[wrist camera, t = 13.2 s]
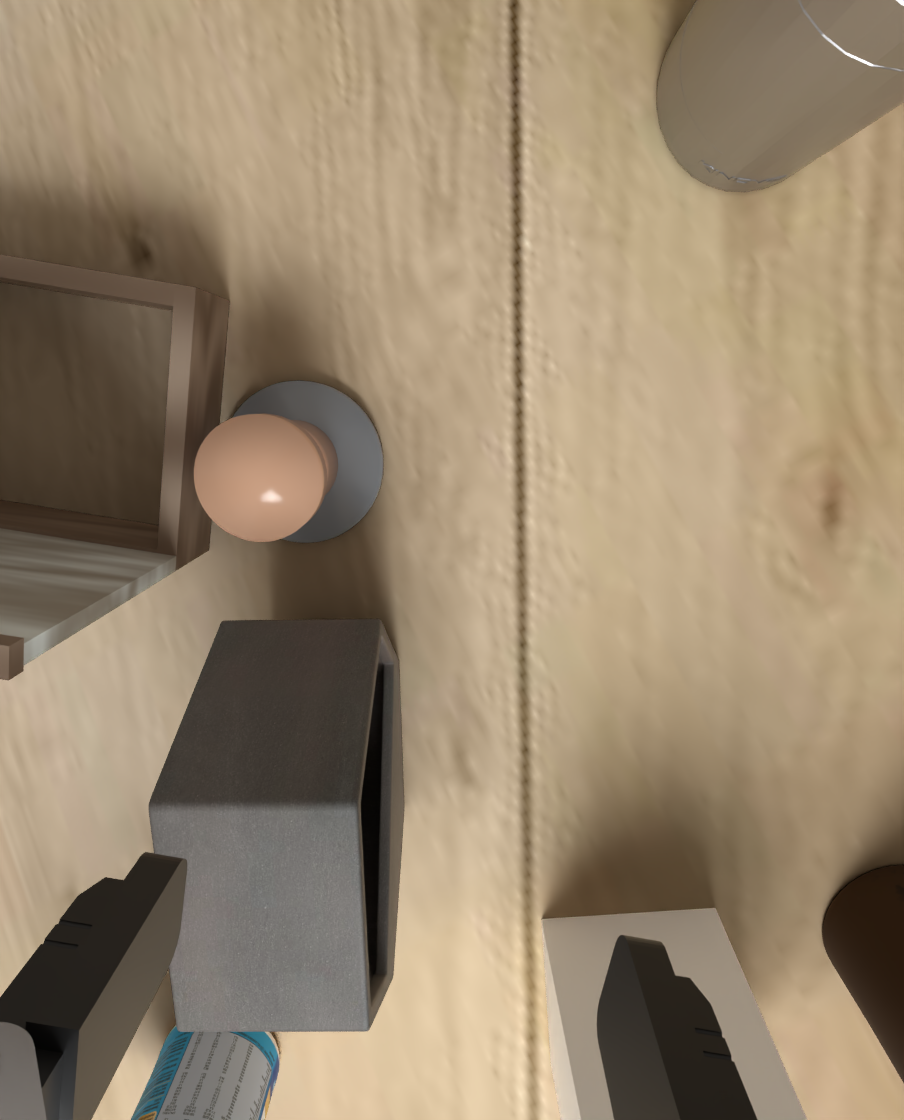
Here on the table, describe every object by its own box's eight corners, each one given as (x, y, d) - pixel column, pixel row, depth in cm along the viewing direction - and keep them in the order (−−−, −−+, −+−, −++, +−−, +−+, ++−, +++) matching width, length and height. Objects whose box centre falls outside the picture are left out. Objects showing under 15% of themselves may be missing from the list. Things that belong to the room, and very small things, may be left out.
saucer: (233, 368, 39) (228, 367, 38) (394, 395, 39) (393, 395, 38) (219, 526, 41) (214, 529, 40) (372, 551, 41) (371, 554, 40)
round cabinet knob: (248, 402, 39) (198, 404, 31) (353, 419, 39) (328, 425, 31) (239, 505, 40) (189, 531, 33) (340, 522, 40) (313, 550, 33)
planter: (401, 959, 42) (347, 1082, 23) (273, 960, 42) (110, 1082, 23) (406, 677, 48) (366, 581, 28) (293, 678, 48) (176, 584, 29)
